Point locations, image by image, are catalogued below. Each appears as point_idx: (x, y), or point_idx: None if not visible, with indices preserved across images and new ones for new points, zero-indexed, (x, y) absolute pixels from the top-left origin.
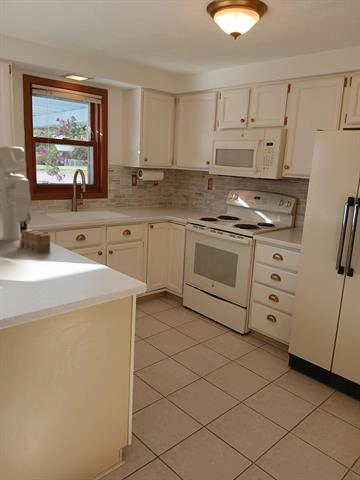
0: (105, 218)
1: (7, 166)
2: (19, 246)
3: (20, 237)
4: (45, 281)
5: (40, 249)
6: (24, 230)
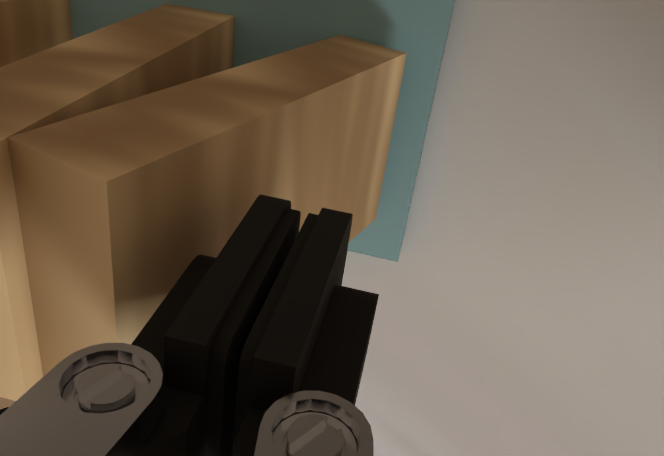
0: None
1: None
2: (431, 65)
3: None
4: None
5: None
6: (77, 236)
